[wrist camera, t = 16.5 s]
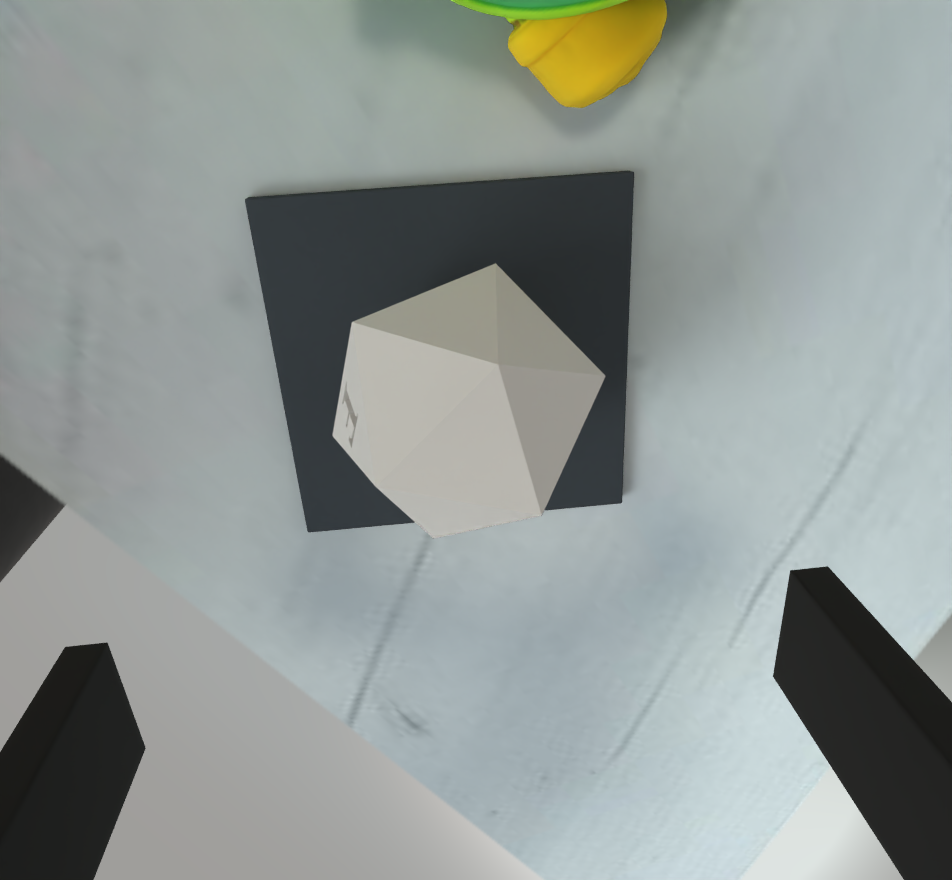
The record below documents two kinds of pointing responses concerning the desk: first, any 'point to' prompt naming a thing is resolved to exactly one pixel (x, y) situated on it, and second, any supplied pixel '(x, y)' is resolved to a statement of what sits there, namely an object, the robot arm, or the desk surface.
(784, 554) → the desk surface
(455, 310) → the die
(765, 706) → the desk surface
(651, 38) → the turtle toy
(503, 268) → the mat
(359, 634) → the desk surface
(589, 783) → the desk surface
